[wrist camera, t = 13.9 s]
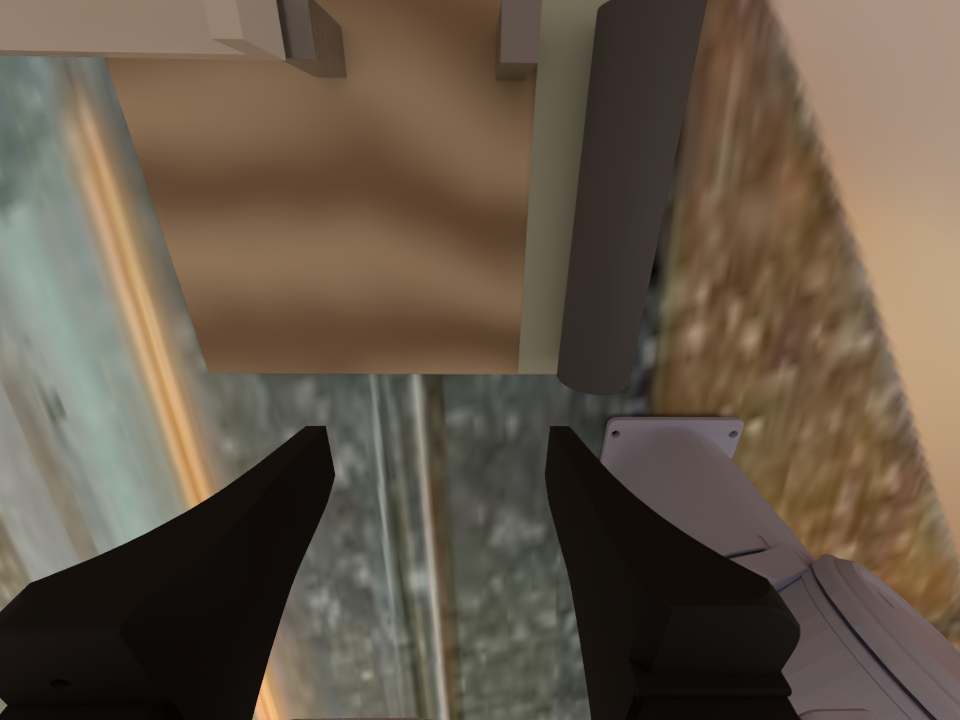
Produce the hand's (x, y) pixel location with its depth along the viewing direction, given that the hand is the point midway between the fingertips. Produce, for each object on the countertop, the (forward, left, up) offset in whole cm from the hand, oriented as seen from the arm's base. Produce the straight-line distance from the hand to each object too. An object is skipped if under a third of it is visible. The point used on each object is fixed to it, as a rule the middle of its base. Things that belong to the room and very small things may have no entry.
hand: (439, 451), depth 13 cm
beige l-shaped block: (+12, +9, -5) cm, 16 cm away
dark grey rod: (+6, -6, -8) cm, 12 cm away
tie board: (+7, +2, -9) cm, 12 cm away
